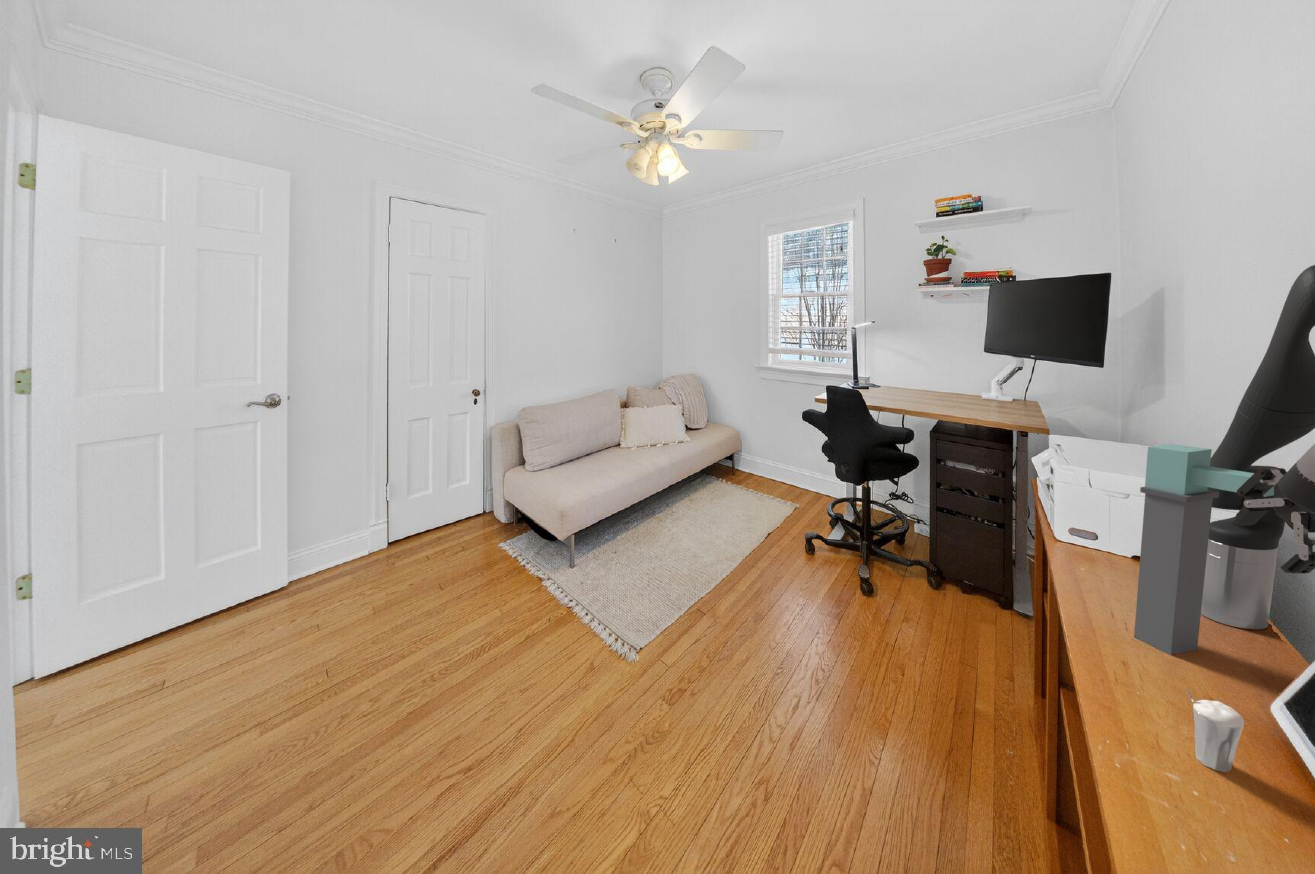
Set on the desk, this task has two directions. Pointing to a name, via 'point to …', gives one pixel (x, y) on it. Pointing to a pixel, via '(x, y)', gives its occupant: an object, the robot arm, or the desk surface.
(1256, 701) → the desk surface
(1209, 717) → the milkshake
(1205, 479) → the teal handle
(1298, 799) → the desk surface
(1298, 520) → the robot arm
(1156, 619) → the stand
